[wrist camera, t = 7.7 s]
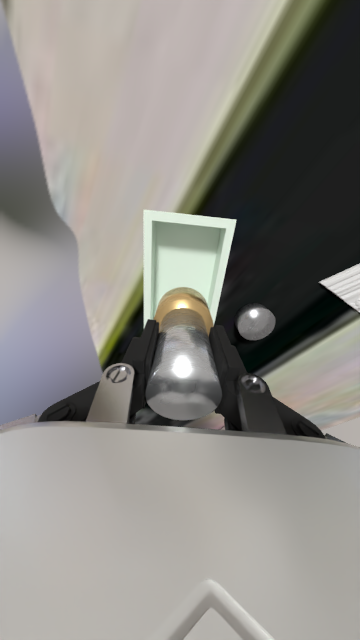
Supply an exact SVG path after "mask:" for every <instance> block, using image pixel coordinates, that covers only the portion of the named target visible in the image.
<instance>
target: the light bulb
mask: <svg viewBox="0 0 360 640" xmlns="http://www.w3.org/2000/svg"><path fill="white" fill-rule="evenodd" d="M154 320H156V322H159V335H158V339H157V344H156V348H155V353H154V357H153V362H152V366H151V371H150V375H149V379H148V383H147V388H146V394H145V395H146V400H147V403H148V404H149V406H150V407H151V408H152V409H153V410H154V411H155V412H157V413H158V414H160V415H162V416H164V417H167V418H170V419H175V420H193V419H198V418H201V417H204V416H206V415H208V414H210V413H211V412H213V411H214V410H215V409H216V408H217V407H218V405H219V404H220V402H221V398H222V390H221V386H220V382H219V378H218V374H217V370H216V366H215V362H214V358H213V354H212V350H211V345H210V341H209V332H210V328H211V327H213V320H212V317H211V314H210V311H209V308H208V305H207V302H206V300H205V298H204V297H203V296H202V294H200V293H199V292H198V291H196V290H194V289H192V288H188V287H178V288H174V289H171V290H170V291H168V292H167V293H165V294H164V295H163V296H162V298H161V299H160V301H159V304H158V307H157V310H156V313H155V317H154Z"/></svg>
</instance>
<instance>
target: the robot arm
mask: <svg viewBox="0 0 360 640" xmlns="http://www.w3.org/2000/svg"><path fill="white" fill-rule="evenodd" d="M158 335H159V322H156V320H152V319H148V320H147V322H146V325H145V328H144V330H143V333H142V336H141V338H137V337H133V339H132V341H131V343H130V345H129V347H128V349H127V352H126V354H125V356H124V358H123V360H122V363H119V364H114V365H112V366H110V367H108V368H107V369H106V370H105V371H104V373H103V375H102V377H101V380H100V382H97V383H95V384H93V385H91V386H89V387H87V388H86V389H83V390H81V391H79V392H77V393H75V394H73V395H71V396H69V397H67V398H66V399H63V400H61V401H59V402H57V403H55V404H54V405H52V406H50V407H49V408H47V409H46V410H45V411H44V412H43V413H42V415H39V416H36V414H33V415H31V416H27V417H24V418H21V419H18V420H15V421H12V422H9V423H6V424H3V425H0V640H360V447H357V446H354V445H350V444H348V443H345V442H343V441H341V440H339V439H337V438H335V437H333V436H331V435H329V434H326V435H323V433H322V432H321V430H320V429H319V428H318V427H317V426H316V425H314V424H313V423H312V422H310V421H309V420H307V419H306V418H304V417H303V416H301V415H300V414H298V413H297V412H295V411H294V410H292V409H291V408H289V407H287V406H286V405H284V404H283V403H281V402H280V401H278V400H277V399H275V398H274V397H272V395H271V392H270V390H269V387H268V385H267V384H266V382H265V381H264V380H263V379H261V378H260V377H259V376H256V375H254V374H251V373H247V372H246V370H245V367H244V365H243V363H242V361H241V358H240V356H239V354H238V352H237V350H236V348H235V346H232V345H231V344H230V341H229V339H228V337H227V334H226V332H225V330H224V327H223V326H220V325H214V326H213V327H211V328H210V332H209V341H210V345H211V350H212V354H213V358H214V362H215V366H216V370H217V374H218V378H219V382H220V386H221V390H222V398H221V402H220V404H219V405H218V407H217V408H216V409H215V413H218V414H221V415H223V416H224V417H225V419H224V423H225V427H223V428H222V429H220V430H215V429H200V428H185V427H170V426H154V425H137V424H135V418H136V412H138V411H139V410H140V409H142V408H145V403H146V402H147V400H146V395H145V394H146V388H147V383H148V379H149V375H150V371H151V366H152V362H153V357H154V353H155V348H156V344H157V339H158Z"/></svg>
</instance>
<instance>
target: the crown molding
mask: <svg viewBox="0 0 360 640" xmlns="http://www.w3.org/2000/svg"><path fill="white" fill-rule="evenodd" d="M319 283H321V284H322V285H323V286H325V287H326V288H327V289H329V290H330V291H331V292H333V293H334V294H335V295H337V296H338V297H339V298H341V299H342V300H343V301H345V302H346V303H347V304H349V305H350V306H351V307H353V308H354V309H355V310H357V311H358V312H359V313H360V264H358V265H355V266H353V267H351V268H349V269H347V270H344V271H342V272H340V273H338V274H336V275H333V276H331V277H329V278H327V279H325V280H322V281H320V282H319Z"/></svg>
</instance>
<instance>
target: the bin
mask: <svg viewBox="0 0 360 640" xmlns="http://www.w3.org/2000/svg"><path fill="white" fill-rule="evenodd" d="M235 224H236V220H233V219H224V218H215V217H206V216H197V215H188V214H179V213H170V212H161V211H152V210H144V328H145V325H146V322H147V320H148V319H152V320H154V317H155V313H156V310H157V307H158V304H159V301H160V299H161V298H162V296H163V295H164V294H165V293H167V292H168V291H170V290H171V289H174V288H178V287H188V288H192V289H194V290H196V291H198V292H199V293H200V294H202V296H203V297H204V298H205V300H206V302H207V305H208V308H209V311H210V314H211V317H212V320H213V326H214V322H215V317H216V313H217V308H218V304H219V299H220V294H221V290H222V285H223V280H224V276H225V271H226V266H227V262H228V257H229V252H230V248H231V243H232V238H233V234H234V229H235Z"/></svg>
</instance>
